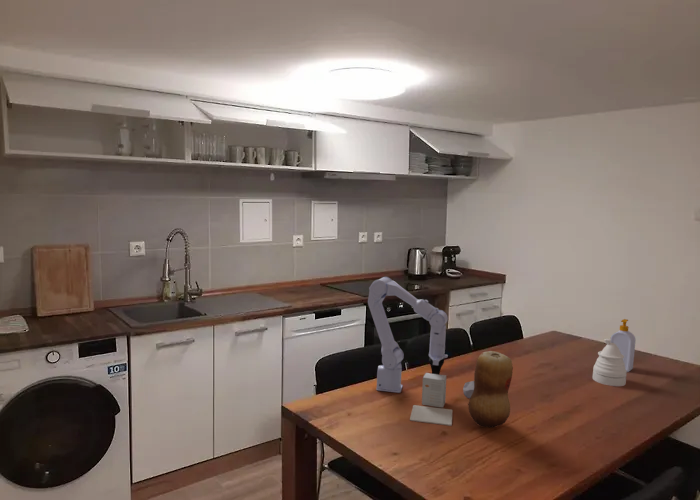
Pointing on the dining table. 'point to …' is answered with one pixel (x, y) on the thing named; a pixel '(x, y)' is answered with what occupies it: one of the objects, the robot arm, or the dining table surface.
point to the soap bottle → (625, 344)
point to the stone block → (468, 389)
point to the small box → (434, 390)
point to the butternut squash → (491, 389)
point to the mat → (431, 415)
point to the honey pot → (610, 366)
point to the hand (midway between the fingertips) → (435, 377)
